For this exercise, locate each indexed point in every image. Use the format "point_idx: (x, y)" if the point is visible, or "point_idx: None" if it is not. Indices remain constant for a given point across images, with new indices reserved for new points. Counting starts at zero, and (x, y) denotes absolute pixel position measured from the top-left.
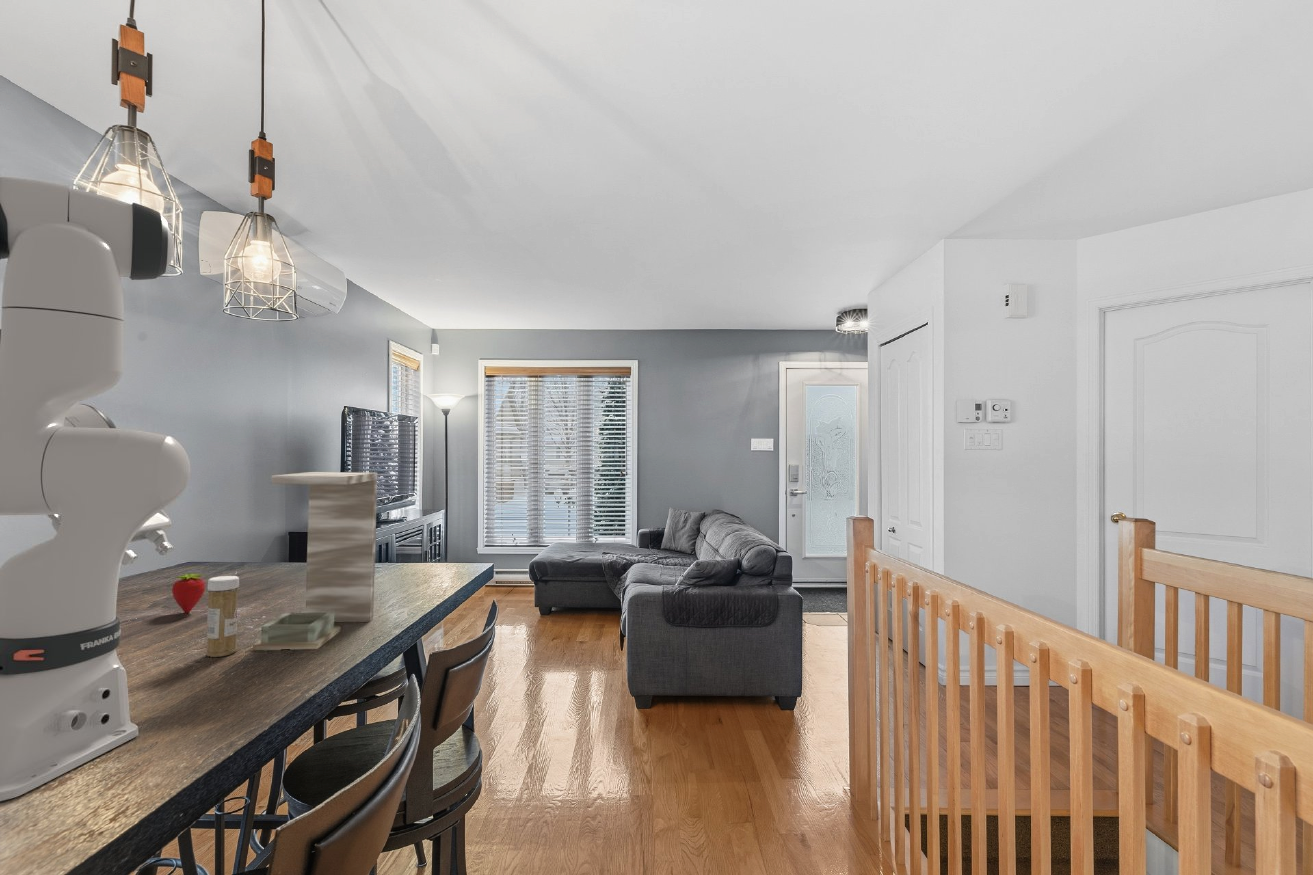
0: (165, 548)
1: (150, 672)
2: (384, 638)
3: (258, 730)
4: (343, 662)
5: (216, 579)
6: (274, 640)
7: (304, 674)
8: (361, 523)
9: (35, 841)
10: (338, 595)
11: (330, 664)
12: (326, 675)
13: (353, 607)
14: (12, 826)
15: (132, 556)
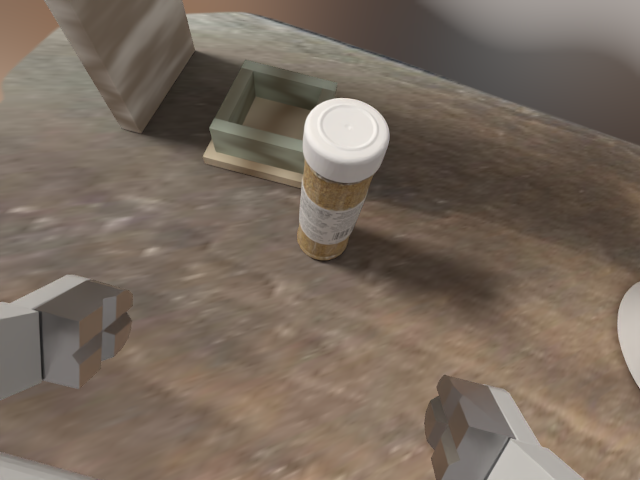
0: (116, 308)
1: (412, 331)
2: (313, 42)
3: (636, 147)
4: (417, 84)
5: (376, 139)
6: None
7: (461, 120)
8: None
9: None
10: (151, 37)
11: (423, 96)
12: (468, 99)
13: (174, 43)
14: None
15: (498, 389)
